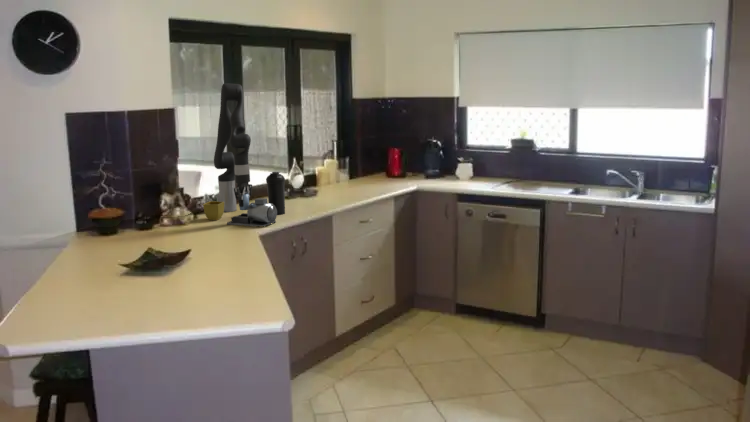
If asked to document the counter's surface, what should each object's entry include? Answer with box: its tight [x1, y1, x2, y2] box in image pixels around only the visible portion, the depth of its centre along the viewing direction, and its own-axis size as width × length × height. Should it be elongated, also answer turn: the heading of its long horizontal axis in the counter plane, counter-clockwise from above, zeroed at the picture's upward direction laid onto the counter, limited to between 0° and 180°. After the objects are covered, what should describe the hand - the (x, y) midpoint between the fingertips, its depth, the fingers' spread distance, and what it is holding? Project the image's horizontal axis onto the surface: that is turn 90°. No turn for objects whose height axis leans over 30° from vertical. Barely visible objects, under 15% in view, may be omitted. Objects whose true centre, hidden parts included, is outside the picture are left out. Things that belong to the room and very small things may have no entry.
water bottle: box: [265, 171, 286, 216], centre depth 385 cm, size 10×10×23 cm
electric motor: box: [226, 197, 278, 227], centre depth 362 cm, size 24×12×13 cm, turn 67°
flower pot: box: [202, 200, 225, 221], centre depth 375 cm, size 9×9×9 cm
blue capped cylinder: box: [239, 191, 250, 211], centre depth 363 cm, size 5×5×9 cm
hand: (244, 205), depth 363 cm, fingers closed on blue capped cylinder, 5 cm apart
